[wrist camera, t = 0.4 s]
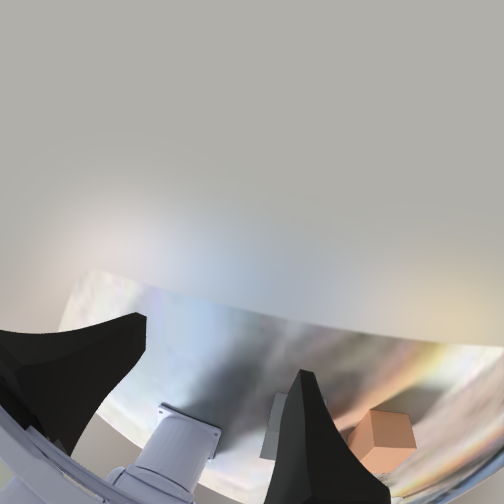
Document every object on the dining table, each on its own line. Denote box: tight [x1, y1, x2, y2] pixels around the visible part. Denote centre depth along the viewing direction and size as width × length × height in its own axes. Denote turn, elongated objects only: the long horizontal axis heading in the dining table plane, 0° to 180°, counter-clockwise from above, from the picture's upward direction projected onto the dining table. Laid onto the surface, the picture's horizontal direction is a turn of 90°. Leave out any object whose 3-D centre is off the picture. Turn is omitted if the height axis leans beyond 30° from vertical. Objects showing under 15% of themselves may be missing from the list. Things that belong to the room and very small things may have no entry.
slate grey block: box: [260, 392, 327, 461], centre depth 22 cm, size 5×5×5 cm
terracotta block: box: [348, 410, 417, 473], centre depth 20 cm, size 5×5×5 cm
